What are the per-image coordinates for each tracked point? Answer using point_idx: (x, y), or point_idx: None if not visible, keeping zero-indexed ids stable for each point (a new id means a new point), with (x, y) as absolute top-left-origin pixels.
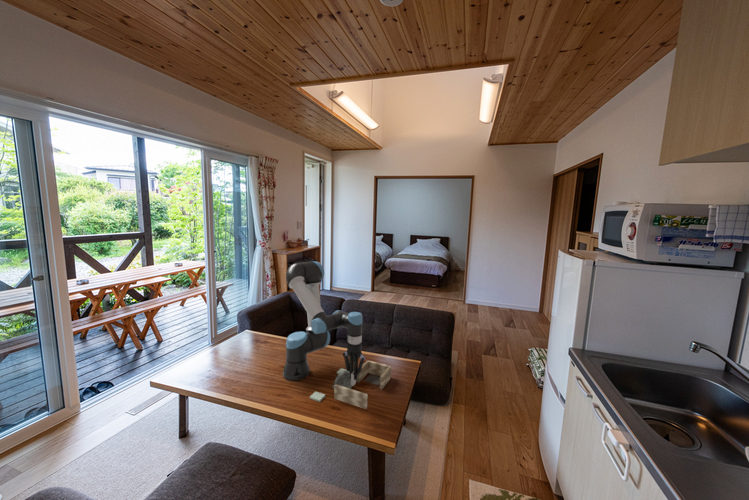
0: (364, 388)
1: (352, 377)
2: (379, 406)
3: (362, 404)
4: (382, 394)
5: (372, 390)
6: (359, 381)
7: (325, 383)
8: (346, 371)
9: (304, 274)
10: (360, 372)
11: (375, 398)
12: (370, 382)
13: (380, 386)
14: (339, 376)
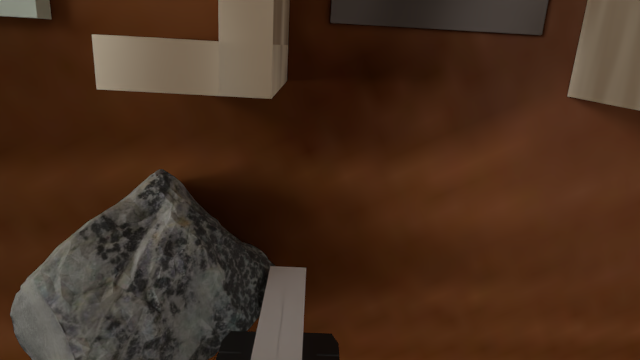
0: (390, 163)
1: None
2: (614, 355)
3: None
4: (615, 183)
5: (490, 161)
6: (285, 76)
7: None
8: (92, 305)
9: None
10: (277, 59)
11: (554, 271)
12: (423, 21)
13: (593, 99)
14: None
